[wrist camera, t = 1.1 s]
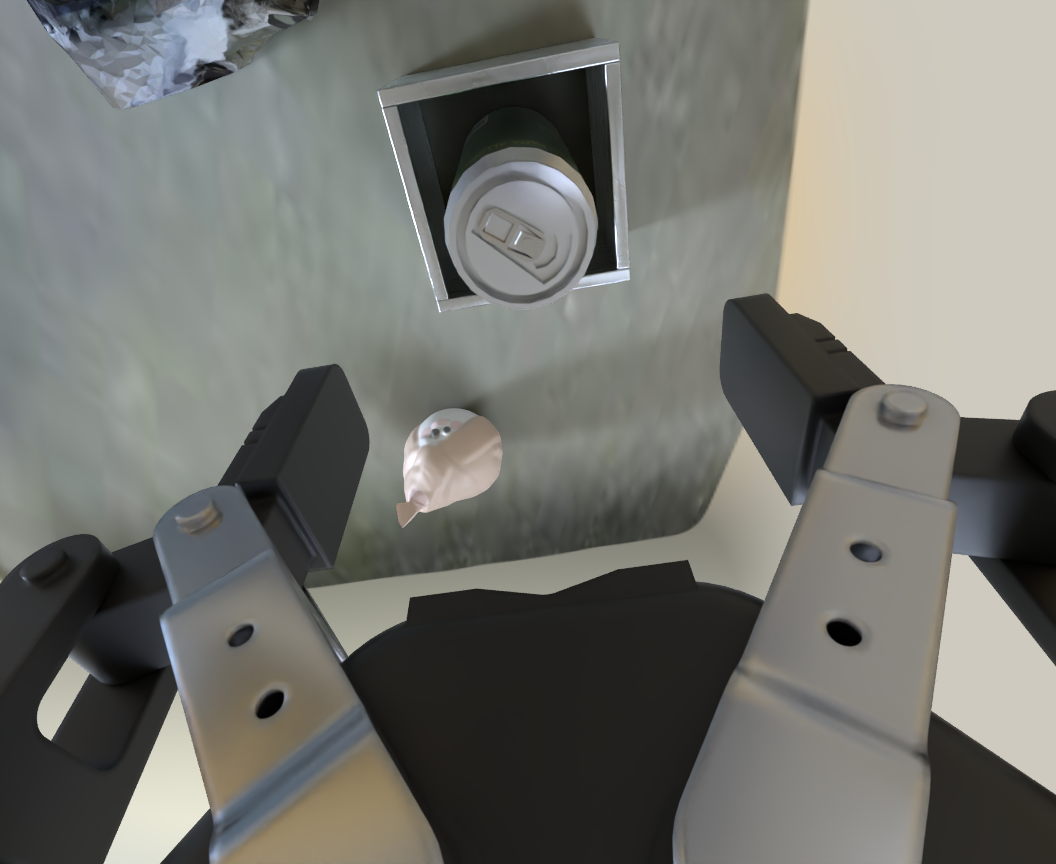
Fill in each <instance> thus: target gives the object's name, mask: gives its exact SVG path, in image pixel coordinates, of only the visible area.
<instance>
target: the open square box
mask: <svg viewBox="0 0 1056 864" xmlns="http://www.w3.org/2000/svg"><path fill="white" fill-rule="evenodd" d="M619 60H620V46H619V42H616V41H610V40H605V39H599V38H591V39H586V40H581V41H576V42H571V43H566V44H561V45H556V46H551V47H546V48H541V49H536V50H531V51H526V52H521V53H516V54H511V55H506V56H501V57H496V58H491V59H486V60H481V61H476V62H471V63H466V64H461V65H456V66H451V67H447V68H442V69H437V70H432V71H427V72H422V73H417V74H412V75H407V76H402V77H400V78H398V79H396V80H394V81H393V82H391V83H389V84H387V85H386V86H384V87H382V88H380V89H379V90H377V93H378V96H379V100H380V103H381V106H382V107H383V108H382V111H383V114H384V118H385V121H386V125H387V128H388V132H389V135H390V139H391V142H392V146H393V149H394V153H395V156H396V160H397V164H398V167H399V171H400V174H401V178H402V181H403V185H404V188H405V192H406V195H407V199H408V202H409V206H410V209H411V213H412V216H413V220H414V223H415V227H416V230H417V234H418V237H419V241H420V244H421V248H422V252H423V255H424V259H425V262H426V266H427V269H428V273H429V276H430V280H431V283H432V287H433V290H434V294H435V297H436V300H437V304H438V308H439V311H440V312H445V311H451V310H457V309H463V308H469V307H475V306H480V305H486V304H491V303H489V302H488V301H486V300H485V299H483V298H482V297H480V296H479V295H477V294H476V293H474V292H473V291H472V290H471V289H470V288H469V287H468V285H467V284H466V283H465V282H464V280H463V279H462V278H461V276H460V275H459V274H458V272H457V269H456V267H455V266H454V264H453V261H452V259H451V256H450V254H449V251H448V248H447V246H446V243H445V228H444V216H445V212H446V210H445V206H444V202H443V198H442V194H441V190H440V186H439V182H438V178H437V174H436V170H435V166H434V162H433V158H432V153H431V149H430V145H429V141H428V137H427V133H426V129H425V125H424V121H423V117H422V113H421V109H420V105H419V101H420V100H425V99H430V98H435V97H440V96H445V95H450V94H456V93H461V92H466V91H471V90H476V89H481V88H486V87H491V86H496V85H501V84H506V83H511V82H516V81H521V80H526V79H531V78H536V77H541V76H546V75H552V74H557V73H562V72H567V71H572V70H577V69H582V68H586V80H587V93H588V105H589V118H590V130H591V143H592V155H593V167H594V180H595V192H596V205H597V217H598V229H599V231H597V236H596V245H595V248H594V251H593V256H592V258H591V260H590V263H589V265H588V267H587V270H586V272H585V274H584V276H583V277H582V278H581V279H580V281H579V282H578V283H577V284H576V285H575V287H574V288H573V289H572V290H574V289H580V288H585V287H591V286H597V285H603V284H609V283H615V282H620V281H626V280H630V268H629V267H630V258H629V237H628V216H627V194H626V173H625V152H624V131H623V109H622V88H621V67H620V62H619Z"/></svg>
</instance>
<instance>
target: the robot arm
mask: <svg viewBox="0 0 1056 864" xmlns="http://www.w3.org/2000/svg"><path fill="white" fill-rule="evenodd" d="M720 379H721V385H722V389H723V392H724V395H725V397H726V398H727V400H728V402H729V403H730V405H731V407H732V408H733V410H734V412H735V413H736V415H737V417H738V418H739V420H740V422H741V423H742V425H743V427H744V428H745V430H746V432H747V433H748V435H749V437H750V438H751V440H752V442H753V443H754V445H755V446H756V448H757V450H758V451H759V453H760V455H761V456H762V458H763V459H764V461H765V463H766V465H767V466H768V468H769V470H770V471H771V473H772V475H773V476H774V478H775V480H776V481H777V483H778V485H779V486H780V488H781V490H782V491H783V493H784V495H785V496H786V498H787V499H788V501H789V503H790V505H791V506H794V505H802V504H803V505H802V508H801V510H800V513H799V515H798V518H797V520H796V523H795V525H794V528H793V530H792V533H791V535H790V538H789V541H788V543H787V546H786V548H785V550H784V553H783V555H782V558H781V560H780V563H779V566H778V568H777V571H776V573H775V576H774V578H773V581H772V583H771V586H770V588H769V591H768V593H767V596H766V598H765V601H763V600H761V599H759V598H757V597H754V596H752V595H749V594H747V593H745V592H742V591H739V590H735V589H732V588H729V587H725V586H721V585H716V584H711V583H704V582H695V579H694V576H693V573H692V570H691V567H690V564H689V562H688V560H685V561H677V562H670V563H662V564H655V565H648V566H640V567H633V568H625V569H618V570H615V571H613V572H610V573H608V574H604V575H602V576H599V577H596V578H594V579H591V580H589V581H586V582H583V583H580V584H578V585H575V586H572V587H569V588H567V589H564V590H562V591H559V592H556V593H553V594H548V595H538V594H527V593H517V592H507V591H496V590H485V589H471V590H463V591H456V592H450V593H442V594H434V595H426V596H419V597H412V598H410V602H409V608H408V614H407V621H404V622H402V623H400V624H397V625H395V626H393V627H391V628H389V629H387V630H385V631H383V632H382V633H380V634H378V635H377V636H375V637H374V638H372V639H370V640H369V641H367V642H366V643H365V644H363V645H362V646H361V647H360V648H358V649H357V650H356V651H354V652H353V653H352V654H351V655H350V656H349V657H348V655H347V654H346V652H345V651H344V649H343V647H342V646H341V644H340V642H339V641H338V639H337V637H336V636H335V634H334V632H333V631H332V629H331V628H330V626H329V624H328V623H327V621H326V619H325V617H324V616H323V614H322V613H321V611H320V609H319V608H318V606H317V604H316V603H315V601H314V599H313V598H312V596H311V595H310V593H309V591H308V590H307V588H306V587H305V585H304V581H305V578H306V576H307V573H308V572H313V571H320V570H327V569H333V566H334V563H335V559H336V556H337V553H338V550H339V546H340V543H341V540H342V536H343V533H344V530H345V527H346V523H347V520H348V517H349V514H350V510H351V507H352V504H353V500H354V497H355V494H356V491H357V487H358V484H359V481H360V478H361V474H362V471H363V468H364V465H365V461H366V458H367V455H368V451H369V433H368V428H367V425H366V422H365V420H364V417H363V415H362V413H361V410H360V408H359V406H358V403H357V401H356V399H355V397H354V394H353V392H352V390H351V387H350V385H349V383H348V380H347V378H346V376H345V374H344V372H343V370H342V369H341V367H340V366H339V365H337V364H332V365H326V366H320V367H314V368H308V369H302V370H300V371H299V372H298V373H297V375H296V376H295V378H294V380H293V381H292V383H291V385H290V387H289V388H288V390H287V392H286V394H285V395H284V396H280V397H279V398H278V399H277V400H276V401H274V402H273V403H272V404H271V405H270V406H269V407H268V408H266V409H265V410H264V411H263V412H262V413H261V415H260V417H259V418H258V420H257V422H256V423H255V425H254V426H253V428H252V429H253V431H252V432H250V433H249V435H248V436H247V438H246V440H245V441H244V444H245V445H242V446H241V448H240V449H239V451H238V453H237V454H236V456H235V458H234V459H233V461H232V463H231V464H230V466H229V467H228V469H227V471H226V472H225V474H224V476H223V477H222V479H221V481H220V482H219V484H218V485H217V486H215V487H210V488H207V489H204V490H201V491H198V492H196V493H194V494H192V495H190V496H188V497H186V498H185V499H183V500H181V501H180V502H179V503H177V504H176V505H174V506H173V507H172V508H171V509H170V510H168V511H167V512H166V513H165V514H164V515H163V517H162V518H161V519H160V520H159V522H158V523H157V525H156V527H155V529H154V532H153V537H152V538H149V539H147V540H144V541H141V542H139V543H136V544H133V545H131V546H128V547H125V548H122V549H120V550H117V551H114V552H112V553H111V552H110V551H109V550H108V549H107V548H106V547H105V546H104V545H103V544H102V543H101V542H100V540H99V539H98V538H97V537H95V536H93V535H89V534H80V535H74V536H70V537H66V538H63V539H60V540H58V541H56V542H53V543H51V544H49V545H47V546H45V547H43V548H42V549H40V550H38V551H37V552H35V553H33V554H32V555H30V556H29V557H28V558H26V559H25V560H24V561H22V562H21V563H20V564H18V565H17V566H16V567H15V568H14V569H13V570H12V571H11V572H10V573H9V574H8V575H7V576H6V577H5V579H4V580H3V581H2V582H1V583H0V864H103V863H104V861H105V859H106V856H107V854H108V852H109V849H110V847H111V845H112V842H113V840H114V837H115V835H116V833H117V831H118V828H119V826H120V824H121V821H122V819H123V817H124V814H125V812H126V809H127V807H128V805H129V802H130V800H131V798H132V795H133V793H134V790H135V788H136V786H137V784H138V781H139V779H140V777H141V774H142V772H143V770H144V767H145V765H146V763H147V760H148V758H149V756H150V753H151V751H152V749H153V746H154V744H155V742H156V739H157V737H158V735H159V732H160V730H161V728H162V725H163V723H164V720H165V718H166V716H167V714H168V711H169V709H170V706H171V704H172V702H173V700H174V697H175V695H176V692H177V690H178V691H179V694H180V698H181V702H182V705H183V709H184V713H185V716H186V720H187V724H188V727H189V731H190V735H191V738H192V742H193V746H194V750H195V753H196V757H197V761H198V764H199V768H200V771H201V775H202V779H203V782H204V786H205V790H206V794H207V797H208V801H209V805H210V809H209V810H208V811H207V812H206V813H205V814H204V816H203V817H202V818H201V819H200V820H199V821H198V822H197V823H196V824H195V825H194V827H193V828H192V829H191V830H190V831H189V832H188V833H187V834H186V836H185V837H184V838H183V839H182V840H181V841H180V842H179V843H178V844H177V845H176V847H175V848H174V849H173V850H172V851H171V852H170V853H169V854H168V855H167V857H166V858H165V859H164V860H163V861H162V862H161V863H160V864H1056V795H1055V794H1054V793H1052V792H1051V791H1049V790H1048V789H1046V788H1045V787H1043V786H1042V785H1041V784H1039V783H1038V782H1036V781H1035V780H1033V779H1032V778H1030V777H1029V776H1027V775H1026V774H1024V773H1023V772H1021V771H1020V770H1018V769H1017V768H1015V767H1014V766H1012V765H1011V764H1009V763H1008V762H1006V761H1005V760H1003V759H1002V758H1000V757H999V756H997V755H996V754H994V753H993V752H992V751H990V750H988V749H987V748H986V747H984V746H983V745H981V744H980V743H978V742H977V741H975V740H974V739H972V738H971V737H969V736H968V735H966V734H965V733H963V732H962V731H960V730H959V729H957V728H956V727H954V726H953V725H951V724H950V723H948V722H947V721H945V720H944V719H942V718H941V717H939V716H938V715H937V714H935V713H934V712H932V711H931V708H932V700H933V692H934V685H935V678H936V670H937V662H938V655H939V648H940V640H941V633H942V625H943V617H944V610H945V603H946V595H947V588H948V580H949V573H950V565H951V558H952V553H954V554H962V555H968V556H969V557H970V558H971V560H972V561H973V562H974V563H975V564H976V566H977V567H978V568H979V570H980V571H981V572H982V573H983V575H984V576H985V577H986V578H987V580H988V581H989V582H990V584H991V585H992V586H993V587H994V589H995V590H996V591H997V592H998V594H999V595H1000V596H1001V597H1002V599H1003V600H1004V601H1005V602H1006V604H1007V605H1008V606H1009V608H1010V609H1011V610H1012V611H1013V613H1014V614H1015V615H1016V616H1017V617H1018V619H1019V620H1020V621H1021V623H1022V624H1023V625H1024V626H1025V628H1026V629H1027V630H1028V631H1029V633H1030V634H1031V635H1032V637H1033V638H1034V639H1035V640H1036V642H1037V643H1038V644H1039V646H1040V647H1041V648H1042V649H1043V651H1044V652H1045V653H1046V654H1047V656H1048V657H1049V658H1050V659H1051V661H1052V662H1053V663H1054V664H1055V666H1056V390H1055V391H1048V392H1044V393H1041V394H1039V395H1037V396H1035V397H1033V398H1032V399H1031V400H1030V401H1029V403H1028V405H1027V407H1026V409H1025V411H1024V413H1023V415H1022V417H1021V419H1020V420H1006V419H985V418H964V417H960V415H959V413H958V411H957V410H956V408H955V407H954V406H953V405H952V404H951V403H950V402H948V401H947V400H946V399H944V398H943V397H940V396H939V395H937V394H934V393H932V392H929V391H927V390H924V389H920V388H916V387H912V386H905V385H895V384H885V383H884V382H883V381H882V380H881V379H879V378H878V377H877V376H876V375H875V374H874V373H873V372H872V371H871V370H870V369H869V368H868V367H867V366H866V365H865V364H863V362H861V361H860V360H859V359H858V358H857V357H856V356H855V355H854V354H853V353H852V352H851V351H847V348H846V347H845V346H844V345H843V344H842V343H841V342H840V341H839V340H835V336H834V335H833V334H832V333H830V332H829V331H828V330H827V329H826V328H825V327H824V326H823V325H822V324H821V323H819V322H817V321H814V320H812V319H809V318H807V317H805V316H803V315H800V314H798V313H795V314H788V313H787V312H786V311H785V310H784V309H783V308H782V307H781V306H780V305H779V304H778V303H777V302H776V301H775V300H774V299H773V298H772V297H771V296H770V295H769V294H767V293H766V294H759V295H753V296H747V297H741V298H735V299H729V300H727V302H726V304H725V307H724V312H723V326H722V341H721V356H720ZM68 657H70V658H71V659H72V660H73V661H75V662H76V663H77V664H78V665H80V666H81V667H82V668H84V669H85V670H86V671H87V672H89V673H90V674H89V676H88V678H87V680H86V681H85V683H84V685H83V686H82V688H81V690H80V692H79V693H78V695H77V697H76V699H75V700H74V702H73V704H72V706H71V707H70V709H69V711H68V712H67V714H66V716H65V718H64V720H63V721H62V723H61V725H60V726H59V728H58V730H57V732H56V734H55V735H54V737H53V739H52V740H51V741H50V740H48V739H47V738H45V737H44V736H43V735H42V734H41V732H40V731H39V728H38V724H37V711H38V707H39V704H40V702H41V700H42V698H43V696H44V694H45V693H46V691H47V689H48V688H49V686H50V685H51V683H52V681H53V680H54V678H55V677H56V675H57V674H58V672H59V670H60V669H61V667H62V666H63V664H64V662H65V661H66V659H67V658H68Z"/></svg>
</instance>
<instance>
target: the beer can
mask: <svg viewBox="0 0 1056 864" xmlns="http://www.w3.org/2000/svg"><path fill="white" fill-rule="evenodd" d="M597 226H598V219H597V214H596V209H595V204H594V199H593V196H592V194H591V192H590V190H589V188H588V186H587V185H586V183H585V181H584V179H583V177H582V175H581V173H580V171H579V170H578V168H577V166H576V164H575V162H574V160H573V158H572V156H571V155H570V153H569V151H568V149H567V147H566V145H565V143H564V141H563V140H562V138H561V136H560V135H559V133H558V131H557V129H556V128H555V126H554V125H553V124H552V123H551V122H549V121H548V120H547V119H546V118H545V117H544V116H543V115H542V114H540V113H537V112H535V111H533V110H530V109H528V108H525V107H504V108H501V109H498V110H495V111H492V112H490V113H488V114H487V115H486V116H485V117H483V118H482V119H481V120H480V121H479V122H477V123H476V124H475V126H474V127H473V129H472V130H471V132H470V134H469V135H468V137H467V138H466V140H465V144H464V147H463V151H462V154H461V158H460V161H459V165H458V168H457V172H456V175H455V179H454V182H453V186H452V189H451V193H450V197H449V200H448V204H447V208H446V212H445V216H444V228H445V243H446V246H447V248H448V251H449V254H450V256H451V259H452V261H453V264H454V266H455V267H456V269H457V272H458V274H459V275H460V276H461V278H462V279H463V280H464V282H465V283H466V284H467V285H468V287H469V288H470V289H471V290H472V291H473V292H474V293H476V294H477V295H479V296H480V297H482V298H483V299H485V300H486V301H488V302H489V303H491V304H495V305H498V306H501V307H504V308H507V309H523V310H532V309H535V308H538V307H542V306H545V305H549V304H552V303H554V302H555V301H557V300H558V299H560V298H561V297H563V296H564V295H566V294H567V293H569V292H570V291H571V290H572V289H573V288H574V287H575V285H576V284H577V283H578V282H579V281H580V279H581V278H582V277H583V276H584V274H585V272H586V270H587V267H588V265H589V263H590V260H591V258H592V256H593V251H594V248H595V245H596V236H597Z"/></svg>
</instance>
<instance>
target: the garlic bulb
mask: <svg viewBox="0 0 1056 864" xmlns="http://www.w3.org/2000/svg"><path fill="white" fill-rule="evenodd" d="M502 454H503V450H502V445H501V436H500V434H499V432H498V431H497V429H496V428H495V427H494V426H493V425H492V424H491V422H490V421H489V420H488V419H487V418H485V417H483V416H479V415H477V414H475V413H473V412H471V411H468V410H464V409H458V408H450V409H444V410H440V411H438V412H436V413H434V414H432V415H430V416H429V417H428V418H427V419H426V420H425V421H424V422H423V423H421V424H419V425H418V426H417V427H416V428H415V429H414V430H413V431H412V432H411V434H410V436H409V437H408V439H407V442H406V445H405V449H404V455H405V460H404V465H403V475H404V480H405V484H404V490H405V495H406V501H407V502H404V503H398V504H396V508H397V513H398V518H399V524H401V526H402V528H403V527H404V526H405V525H406V524H407V523H409V522H410V521H411V520H412V519H413V517H414V516H415V515H416V514H417V513H418V512H430V511H433V510H435V509H439V508H441V507H445V506H448V505H450V504H452V503H453V502H455V501H458V500H463V499H467V498H471V497H474V496H477V495H479V494H480V493H482V492H484V491H486V490H487V489H488V488H489V487H490V486H491V485H492V484H493V482H494V481H495V480H496V479H497V477H498V475H499V472H500V466H501V461H502Z"/></svg>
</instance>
